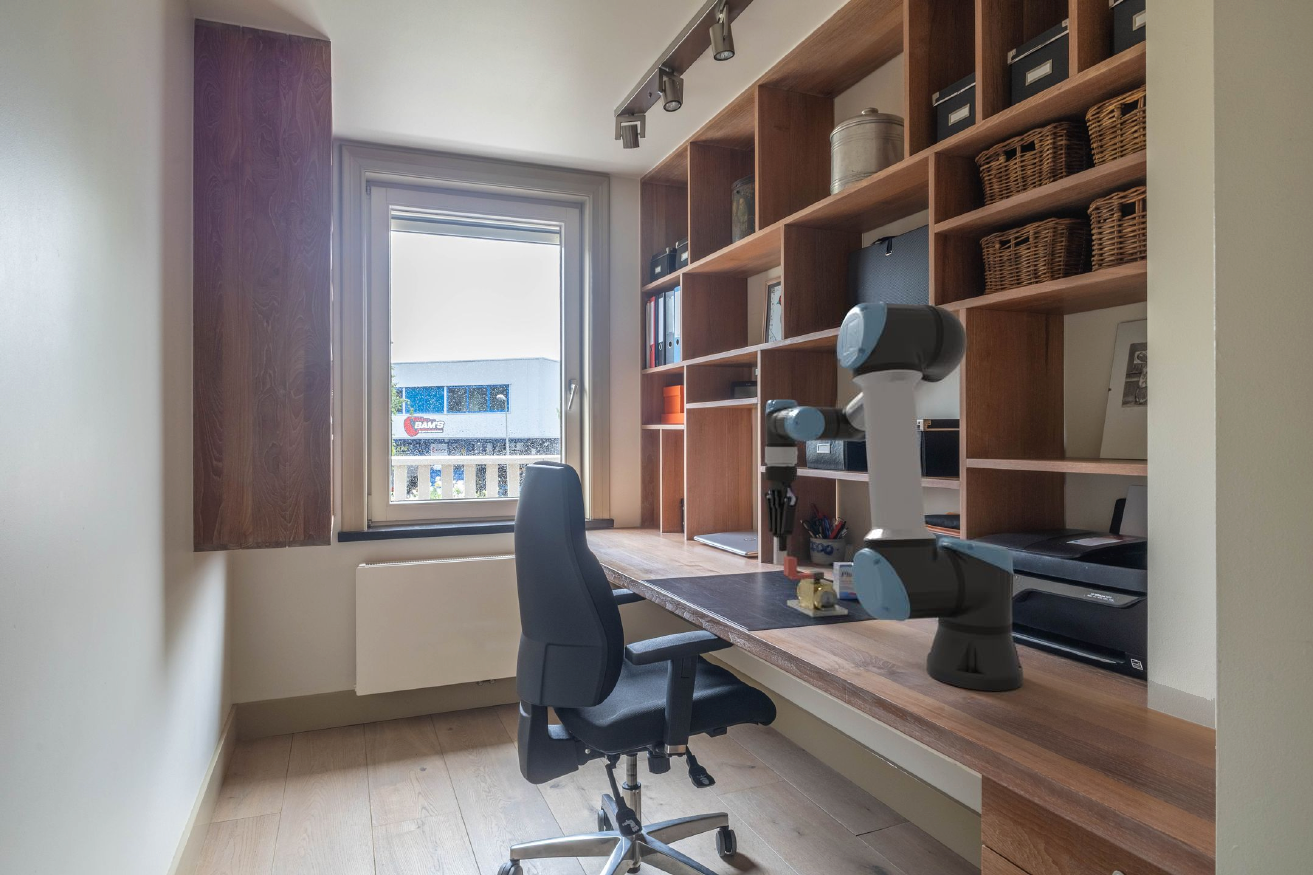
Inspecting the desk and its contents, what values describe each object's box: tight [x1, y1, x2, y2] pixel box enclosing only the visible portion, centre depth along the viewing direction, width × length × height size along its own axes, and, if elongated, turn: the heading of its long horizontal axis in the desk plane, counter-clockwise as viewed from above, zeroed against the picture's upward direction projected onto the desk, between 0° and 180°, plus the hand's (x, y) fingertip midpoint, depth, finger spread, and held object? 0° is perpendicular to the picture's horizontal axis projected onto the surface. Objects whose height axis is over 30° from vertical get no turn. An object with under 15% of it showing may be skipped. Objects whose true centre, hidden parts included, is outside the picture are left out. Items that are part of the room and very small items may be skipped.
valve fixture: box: [786, 578, 849, 618], centre depth 171 cm, size 12×9×7 cm
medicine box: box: [832, 561, 859, 600], centre depth 184 cm, size 8×4×9 cm, turn 95°
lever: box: [783, 556, 825, 580], centre depth 170 cm, size 3×10×5 cm, turn 108°
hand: (780, 564), depth 174 cm, fingers closed
